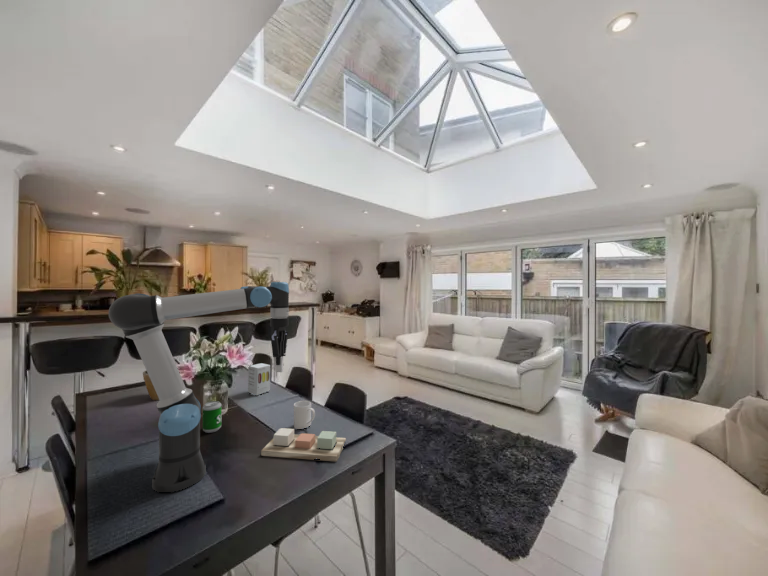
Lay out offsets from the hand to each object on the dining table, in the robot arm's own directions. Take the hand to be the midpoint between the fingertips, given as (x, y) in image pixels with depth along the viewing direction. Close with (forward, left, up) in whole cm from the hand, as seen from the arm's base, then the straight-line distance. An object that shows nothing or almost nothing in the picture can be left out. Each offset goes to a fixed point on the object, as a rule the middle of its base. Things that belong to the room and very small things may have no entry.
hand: (279, 371), depth 134 cm
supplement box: (+50, +37, -29) cm, 68 cm away
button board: (-8, -15, -28) cm, 33 cm away
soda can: (+2, +33, -29) cm, 44 cm away
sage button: (-8, -24, -26) cm, 36 cm away
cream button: (-8, -6, -26) cm, 28 cm away
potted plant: (+36, +89, -29) cm, 100 cm away
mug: (+10, -8, -29) cm, 31 cm away
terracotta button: (-8, -15, -28) cm, 33 cm away
